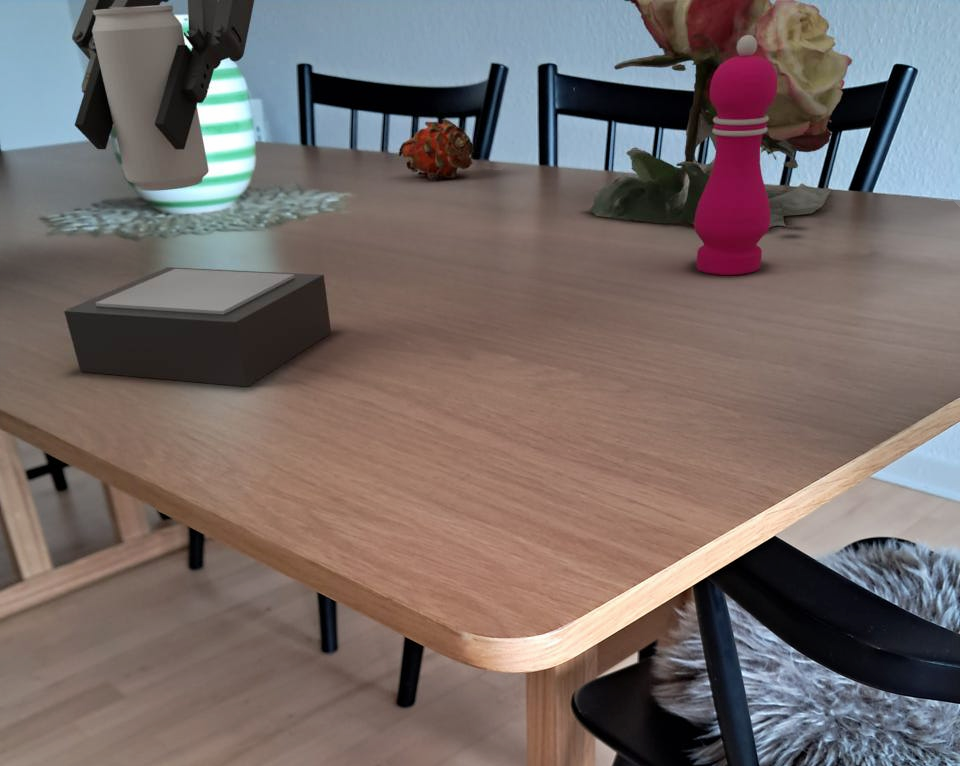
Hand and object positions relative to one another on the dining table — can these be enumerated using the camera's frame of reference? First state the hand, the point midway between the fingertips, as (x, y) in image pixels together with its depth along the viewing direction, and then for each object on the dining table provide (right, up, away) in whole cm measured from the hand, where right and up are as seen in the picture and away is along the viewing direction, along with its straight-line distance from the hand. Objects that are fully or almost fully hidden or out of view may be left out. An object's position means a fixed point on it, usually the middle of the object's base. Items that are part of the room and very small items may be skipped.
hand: (129, 136), depth 75 cm
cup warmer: (+3, -13, +11) cm, 17 cm away
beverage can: (+1, -2, +5) cm, 5 cm away
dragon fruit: (+20, +33, +79) cm, 87 cm away
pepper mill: (+51, 0, +26) cm, 57 cm away
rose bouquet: (+57, +17, +51) cm, 78 cm away
